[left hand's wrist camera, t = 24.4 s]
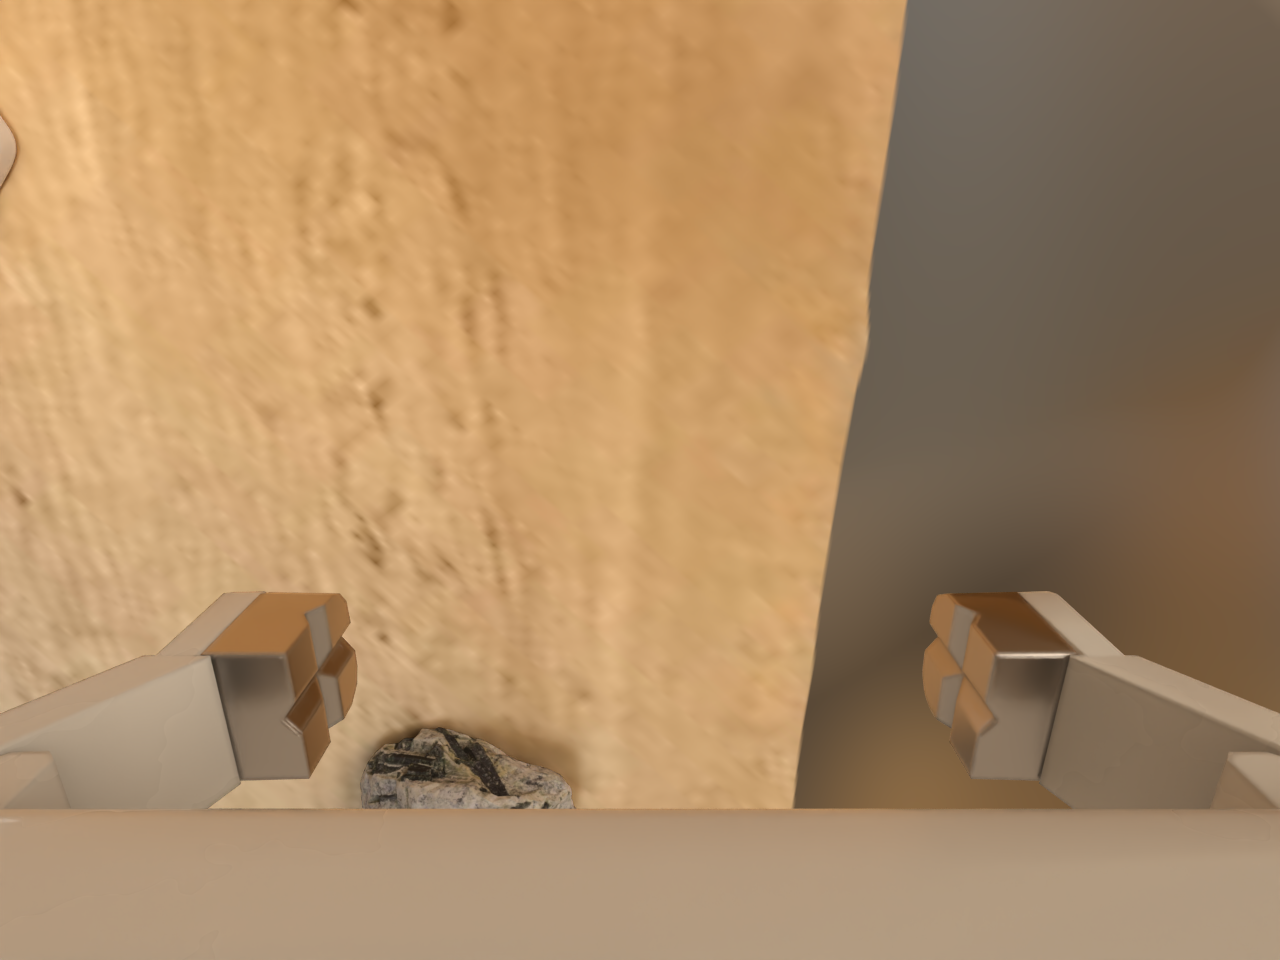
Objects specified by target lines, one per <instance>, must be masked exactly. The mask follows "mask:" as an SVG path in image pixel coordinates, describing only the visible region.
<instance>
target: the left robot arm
mask: <svg viewBox="0 0 1280 960" xmlns="http://www.w3.org/2000/svg"><path fill="white" fill-rule="evenodd" d="M15 156H16V142H15V138H14V136H13V134H12V132H11V130H10V128H9V127H8V125H7V124H6V123H5V121H4V120H3V118H2V117H1V115H0V187H1V185H2V184H3V182H4V180H5V178H6V177H7V175H8V173H9V171H10V169H11V167H12V165H13V162H14V160H15ZM350 623H351V622H350V617H349V612H348V607H347V602H346V600H345V599H344V598H343V597H342V596H341V594H340V593H287V592H268V593H267V592H264V591H258V592H231V593H224V594H222V595H221V596H220V597H219V598H218V599H217V600H216V601H215V602H214V603H213V604H212V605H210V606H209V607H208V608H207V609H206V610H205V611H204V612H203V613H202V614H201V615H199V616H198V617H197V618H196V619H195V620H194V621H193V622H192V623H191V624H190V625H188V626H187V627H186V628H185V629H184V630H183V631H182V632H181V633H180V634H179V635H178V636H176V637H175V638H174V639H173V640H172V641H171V642H170V643H169V644H168V645H167V646H165V647H164V648H163V649H162V650H161V651H160V652H159V653H158V654H157V655H151V656H141V657H139V658H136V659H134V660H131V661H129V662H126V663H124V664H121V665H119V666H116V667H114V668H111V669H109V670H106V671H104V672H102V673H99V674H97V675H94V676H92V677H89V678H87V679H84V680H82V681H79V682H77V683H74V684H72V685H69V686H67V687H65V688H62V689H60V690H57V691H55V692H52V693H50V694H47V695H45V696H42V697H40V698H37V699H35V700H33V701H30V702H28V703H25V704H23V705H20V706H18V707H15V708H13V709H10V710H8V711H5V712H3V713H0V960H1280V714H1279V713H1277V712H1274V711H1272V710H1269V709H1267V708H1264V707H1262V706H1259V705H1257V704H1254V703H1252V702H1250V701H1247V700H1245V699H1242V698H1240V697H1237V696H1235V695H1232V694H1230V693H1228V692H1225V691H1222V690H1220V689H1218V688H1215V687H1213V686H1210V685H1208V684H1205V683H1203V682H1200V681H1198V680H1196V679H1193V678H1191V677H1188V676H1186V675H1183V674H1181V673H1178V672H1176V671H1173V670H1171V669H1169V668H1166V667H1164V666H1161V665H1159V664H1156V663H1154V662H1151V661H1149V660H1146V659H1144V658H1141V657H1139V656H1128V655H1123V654H1122V653H1121V652H1120V651H1119V650H1118V649H1117V648H1116V647H1115V646H1114V645H1112V644H1111V643H1110V642H1109V641H1108V640H1107V639H1106V638H1105V637H1104V636H1103V635H1102V634H1100V633H1099V632H1098V631H1097V630H1096V629H1095V628H1094V627H1093V626H1092V625H1090V624H1089V623H1088V622H1087V621H1086V620H1085V619H1084V618H1083V617H1082V616H1081V615H1080V614H1079V613H1077V612H1076V611H1075V610H1074V609H1073V608H1072V607H1071V606H1070V605H1069V604H1068V603H1067V602H1065V601H1064V600H1063V599H1062V598H1061V597H1060V596H1059V595H1058V594H1055V593H1052V592H1048V591H1041V592H1018V593H1017V592H998V593H956V594H942V595H937V597H936V599H935V601H934V603H933V606H932V611H931V616H930V624H931V626H932V627H933V629H934V630H935V632H936V633H937V635H938V637H937V638H936V639H935V640H934V642H933V643H932V644H931V645H930V646H929V647H928V648H927V649H926V650H925V654H924V662H923V671H922V673H923V683H924V692H925V695H926V699H927V702H928V705H929V707H930V709H931V711H932V713H933V714H934V716H935V718H936V719H937V720H939V721H940V722H942V723H943V724H945V725H947V726H948V727H950V728H951V735H950V741H949V742H950V744H951V746H952V747H953V749H954V751H955V752H956V754H957V756H958V757H959V759H960V761H961V763H962V764H963V766H964V768H965V769H966V771H967V773H968V774H969V776H970V778H971V779H1002V780H1039V781H1040V782H1039V784H1041V785H1042V786H1043V787H1045V788H1046V789H1047V790H1049V791H1050V792H1051V793H1053V794H1054V795H1055V796H1057V797H1058V798H1059V799H1061V800H1062V801H1063V802H1065V803H1066V804H1067V805H1069V806H1070V807H1071V808H1073V809H208V808H209V807H210V806H212V805H213V804H214V803H216V802H217V801H218V800H220V799H221V798H222V797H224V796H225V795H226V794H228V793H229V792H230V791H232V790H233V789H234V788H236V787H237V786H238V785H240V783H241V782H240V781H241V780H277V779H309V778H310V776H311V775H312V773H313V771H314V769H315V768H316V766H317V764H318V763H319V761H320V759H321V758H322V756H323V754H324V752H325V751H326V749H327V747H328V746H329V744H330V742H331V741H330V735H329V728H330V727H332V726H333V725H335V724H337V723H338V722H340V721H341V720H343V719H344V718H345V716H346V714H347V712H348V711H349V709H350V707H351V705H352V702H353V698H354V694H355V690H356V686H357V660H356V654H355V650H354V649H353V648H352V647H351V646H350V645H349V644H348V643H347V642H346V640H345V639H344V638H343V637H342V635H343V633H344V632H345V630H346V629H347V627H348V626H349V624H350Z"/></svg>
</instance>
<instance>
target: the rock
mask: <svg viewBox="0 0 1280 960" xmlns="http://www.w3.org/2000/svg"><path fill="white" fill-rule="evenodd" d="M360 786H361V791H362V795H361V799H362V807H363V809H576V808H575V807H574V806H573V801H572V798H571V796H572V790H571V787H570V786H569V785H568V784H567V783H566V782H565V780H564V779H563V778H562V776H561V775H560V774H558V773H556V772H554V771H552V770H550V769H547V768H544V767H541V766H536V765H530V764H527V763H524V762H521V761H518V760H516V759H514V758H512V757H510V756H508V755H506V753H504V752H503V751H501V750H500V749H498V748H497V747H495V746H493V745H491V744H490V743H488V742H486V741H483V740H481V739H473V738H471V737H469V736H468V735H465V734H461V733H457V732H455V731H453V730H449V729H444V728H437V729H421V730H420V732H419V734H418V735H417V736H416V737H415V738H407V739H404V740H402V741H401V742H399V743H396V744H385V745H384V746H383V747H381V748H380V749H379V750H378V751H376V752H375V754H374V755H373V756H372V758H371V759H370V761H369V762H368V764H367V766H366V768H365V770H364V773H363V776H362V779H361V783H360Z"/></svg>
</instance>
